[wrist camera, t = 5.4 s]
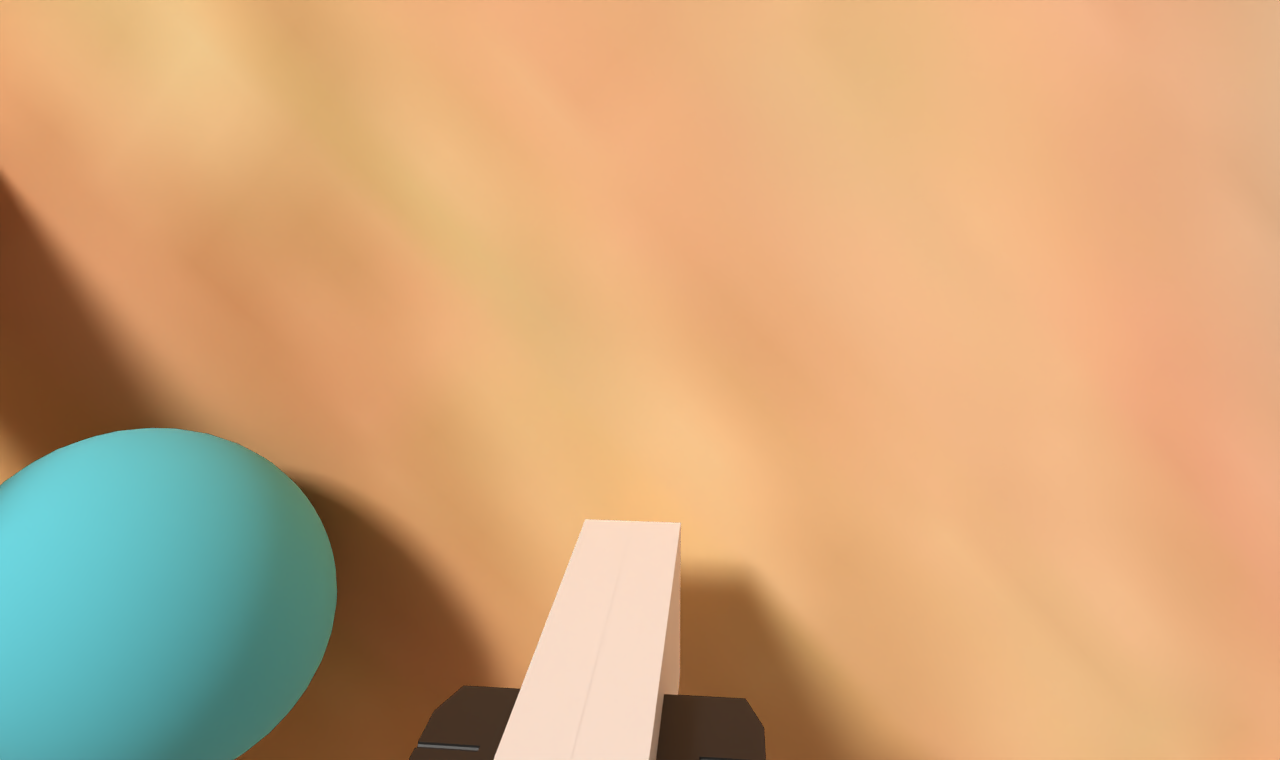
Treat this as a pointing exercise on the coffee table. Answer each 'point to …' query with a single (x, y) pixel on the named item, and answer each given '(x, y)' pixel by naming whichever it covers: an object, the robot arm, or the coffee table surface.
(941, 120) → the coffee table surface
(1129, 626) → the coffee table surface
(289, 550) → the ball
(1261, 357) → the coffee table surface
